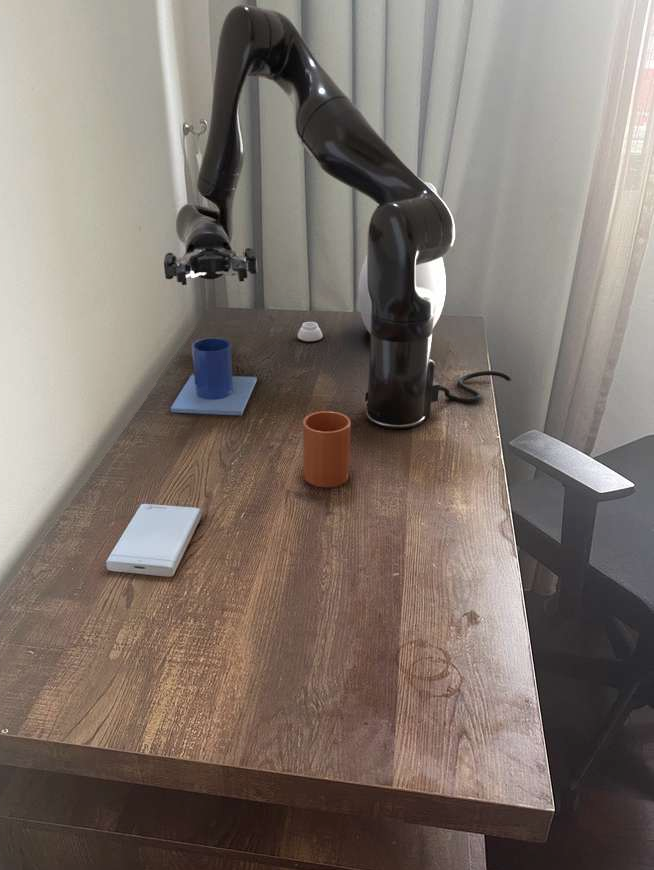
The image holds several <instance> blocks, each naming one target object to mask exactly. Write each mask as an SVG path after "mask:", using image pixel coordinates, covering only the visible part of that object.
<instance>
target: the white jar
mask: <svg viewBox="0 0 654 870" xmlns="http://www.w3.org/2000/svg"><path fill="white" fill-rule="evenodd" d="M301 325H302V326H301V327H300V328H299V330H298V332H297V338H298V339H299V340H301V341H303V342H317V341H320V340H322V338H323V331H322V330H321V328H320V326H319V325H318V322H315V321H305V322H303V323H302V324H301Z"/></svg>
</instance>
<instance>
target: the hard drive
mask: <svg viewBox="0 0 654 870" xmlns="http://www.w3.org/2000/svg"><path fill="white" fill-rule="evenodd" d="M201 519H202V510H201V508H199V507H191V506H181V505H180V506H178V505H165V504H151V503H141V504H140V506H139V507H138V509H137V510H136V512H135V514H134V515H133V517H132V519H131V520H130V522H129V524H128V525H127V526H126V529H125V530H124V531H123V533H122V535H121V537H119V540H118V541H117V542H116V544H115V546H114V548H113V549H112V551H111V553H110V554H109V556H108V558H107V559H106V561H105V565H106V570H108V571H110V572H117V573H125V574H127V573H128V574H138V575H139V574H140V575H148V576H157V577H167V578H172V577H174V576H175V573H176V571H177V568H178V567H179V565H180V563H181V560H182V558H183V557H184V555H185V552H186V551H187V548H188V546H189V544H190V542H191V540H192V538H193V535H194V533H195V531H196V529H197V527H198V525H199V523H200V521H201Z"/></svg>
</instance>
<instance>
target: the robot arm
mask: <svg viewBox="0 0 654 870" xmlns="http://www.w3.org/2000/svg"><path fill="white" fill-rule="evenodd" d="M215 61H216V62H215V71H214V80H213V89H212V99H211V111H210V119H209V126H208V132H207V138H206V142H205V147H204V151H203V155H202V159H201V163H200V167H199V169H198V174H197V178H196V182H195V183H196V184H195V186H196V191H197V192H198V193H199V195H200V196H202V197H203V198H204V199H206V200H207V201H209V202H211V203H212V204H214V205H215V206H216V207H217V208H218V210H217V209H214V208H212V207H207V206H205V205H201V204H198V203H193V202H189V203H186V204H184V205H183V206H182V207H180V209H179V210H178V211H177V215H176V217H175V222H174V223H175V226H174V227H175V234H176V236H177V239H178V241H179V242H180V243H181V244H182V245H183V246H184V247H185V251H184V252H185V253H184V254H183V255H182V257H177V255H176V254H174V253H172V252H167V253H166V254H165V256H164V259H163V268H164V278H165V280H172V279H174V277H176V282H177V283H181V286H186V285H187V284H188V283H187V279H195V278H198V277H199V278H201V279H204V280H215V279H219V278H220V277H222V276H229V277H232V276H236V275H237V278H238V282H240V283H241V282H245V279H248V278H249V273H250V274H252V275H256V274H258V273H259V269H258V256H257V254H256V252H255V251H254V250H253V248H250V247H246V248H245V249H244V250H243V251H242V253H237V252H236V251H234V250H233V249H232V246H231V242H232V240H233V234H234V217H233V216H234V214H233V213H234V201H235V196H236V191H237V187H238V184H239V180H240V177H241V174H242V171H243V167H244V163H245V157H246V144H245V143H246V141H245V136H244V135H245V134H244V130H243V125H242V119H241V97H242V92H243V89H244V86H245V83H246V80H247V78H248V76H249V77H257V78H263V79H267V80H269V81H272V83H274V84H275V85H277V87H279V88H280V90H282V92H283V93H284V94H285V96H286V97H287V98H288V99H289V101H290V102H291V104H292V110H293V111H292V113H293V114H292V115H293V116H292V117H293V126H294V131H295V133H296V136H297V138H298V140H299V142H300V143H301V145H302V146H303V148H304V149H305V150H306V152H308V154H309V155H310V157H311V158H312V159H313V160H314V162H315V163H316V165H318V166H319V168H320V169H321V170H323V171H324V172H325V173H326V174H328V175H329V176H331V177H332V178H334V179H335V180H337V181H339V182H340V183H342V184H344V185H346V186H348V187H349V188H352V189H353V190H355V191H357V192H359V193H361V194H363V195H365V196H366V197H368V198H369V199H371V200H372V201H374V202H375V204H376V203H377V204H378V205H379V206H378V207H377V206H376V207H375V209H374V210H373V212H372V213H371V216H370V218H369V222H368V227H367V235H366V255H367V284H368V291H369V295H370V299H371V303H372V309H371V332H370V333H369V356H368V357H369V360H368V378H367V379H368V381H367V392H366V393H365V398H364V400H365V403H366V412H365V414H366V415H365V416H366V419H367V420H368V421H369V422H370V423H371V424H373V425H375V426H378V427H381V428H386V429H392V430H404V429H411V428H414V427H417V426H419V425H421V424H423V423H424V422H425V420H428V419H429V420H430V418H431V409H432V403H434V402H438V401H439V392H440V391H441V392H444V396H445V397H446V398H447V399H449V400H451V401H455V402H460V403H464V404H473V403H477V402H479V401H481V400H482V397H483V395H482V393H481V392H479V391H478V390H476V389H474V388H473V387H471V386H468V385H466V384H465V383H464V382H467V381H468V380H471V379H473V378H478V377H483V376H484V377H485V376H494V377H499V378H502V379H504V380H505V381H508V382H512V381H513V378H511V376H510V375H509V374H507V373H506V372H502V371H499V370H480V371H475V372H471V373H468V374H466V375H463V376H461V377H460V378H458V380H457V382H456V384H457V386H458V388H460V389H461V390H463V391H465V392H467V393H470V394H471V395H473V396H474V397H463V396H458V395H456V394H452V393H450V388H449V387H447V386H445V385H441V384H439V383H438V382H437V381H435V379H434V377H435V367H436V364H435V362H434V360H432V359H431V351H432V350H431V349H432V338H433V330H434V327H433V318H434V308H435V297H434V294H433V293H432V292H431V291H430V290H428V289H426V288H423V287H419V286H416V283H415V266H416V265H420V264H424V263H428V262H431V261H434V260H436V259H439V258H441V257H442V258H443V257H445V256H446V255H447V254H448V253H449V252H450V250H451V248H452V247H453V245H454V242H455V238H456V228H455V222H454V218H453V215H452V214H451V213H452V212H451V211H450V209H449V208H448V206H447V205H446V203H445V202H444V200H443V199H442V198H441V197H440V196H439V195H438V193H437V192H436V193H437V194H436V193H435V192H434V191H433V190H432V189H430V188H429V187H428V186H427V185H426V184H425V183H424V182H425V181H423V180H422V179H421V178H420V177H419V176H418V175H416V173H415V172H413V171H412V170H411V169H410V168H409V167H408V166H407V165H406V164H405V163H404V162H403V161H402V159H400V158H399V157H398V155H397V154H396V153H395V152H394V151H393V149H392V148H391V147H390V146H389V144H387V142H386V141H385V140H384V139H383V138H382V137H381V136H380V135H379V133H378V132H377V131H376V130H375V129H374V128H373V126H372V125H371V124H370V122H369V121H368V120H367V119H366V117H365V115H364V114H363V113H362V112H361V111H360V110H359V108H358V107H357V106H356V105H355V103H353V102H352V100H351V99H350V98H349V97H348V95H346V93H345V92H343V90H342V89H341V88H340V87H339V86H338V84H336V83H337V82H335V81H334V80H333V78H332V77H331V76H330V75H329V73H328V72H327V71H326V70H325V69H324V68H323V67H322V65H321V64H320V63H319V62H318V60H317V59H316V57H315V56H314V54H313V53H312V51H311V50H310V48H309V47H308V45H307V43H306V42H305V40H304V38H303V37H302V35H301V34H300V32H299V30H298V29H297V28H296V26H295V25H294V23H293V22H292V21H291V19H290V18H288V17H287V16H286V15H284V14H283V13H281V12H280V11H276V10H273V9H268V8H264V7H258V6H254V5H253V6H252V5H249V4H238V5H235V6H234V7H232V8H231V9H230V10H229V11H228V12H227V14H226V16H225V17H224V20H223V23H222V26H221V29H220V34H219V37H218V44H217V52H216V60H215ZM187 286H188V285H187Z"/></svg>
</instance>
